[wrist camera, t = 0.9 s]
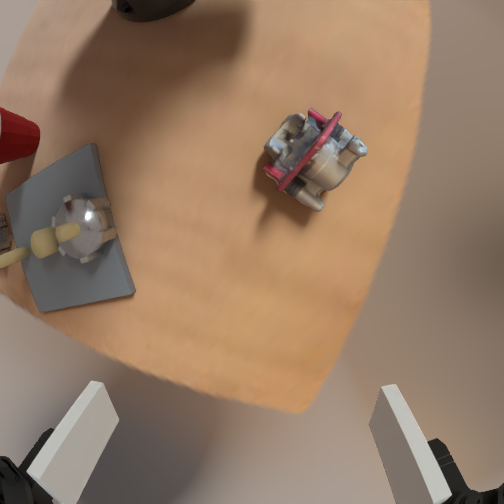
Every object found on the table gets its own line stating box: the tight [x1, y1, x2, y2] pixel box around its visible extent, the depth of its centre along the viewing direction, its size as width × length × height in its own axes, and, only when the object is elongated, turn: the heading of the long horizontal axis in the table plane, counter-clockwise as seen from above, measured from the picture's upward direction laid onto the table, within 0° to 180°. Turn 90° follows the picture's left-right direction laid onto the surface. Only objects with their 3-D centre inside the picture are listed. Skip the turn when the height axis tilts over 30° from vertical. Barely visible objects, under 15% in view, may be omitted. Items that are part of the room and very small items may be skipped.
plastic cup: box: [0, 107, 40, 164], centre depth 27 cm, size 11×11×12 cm
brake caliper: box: [263, 108, 368, 212], centre depth 29 cm, size 11×11×12 cm
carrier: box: [0, 143, 136, 313], centre depth 32 cm, size 22×22×8 cm
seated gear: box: [51, 193, 117, 264], centre depth 32 cm, size 9×8×4 cm
